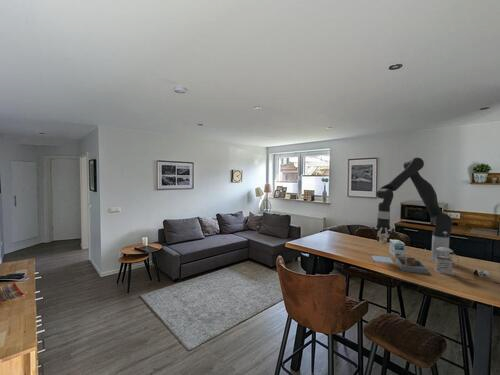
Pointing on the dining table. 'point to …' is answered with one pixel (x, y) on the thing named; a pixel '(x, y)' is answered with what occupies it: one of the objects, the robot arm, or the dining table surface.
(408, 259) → the walnut block
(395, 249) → the light bulb box
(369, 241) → the dining table surface
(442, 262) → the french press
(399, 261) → the parts bin
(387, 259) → the placing board
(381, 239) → the beige box with label
